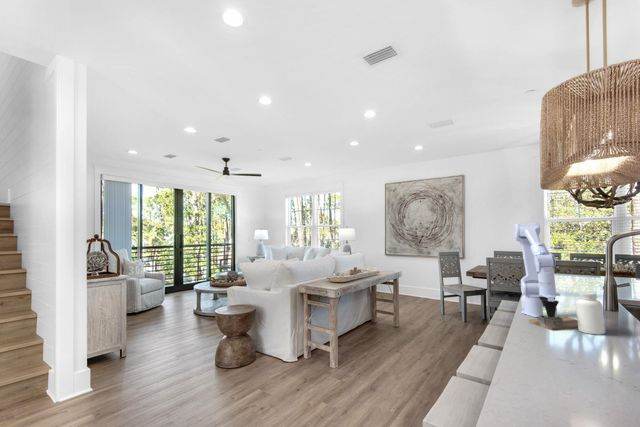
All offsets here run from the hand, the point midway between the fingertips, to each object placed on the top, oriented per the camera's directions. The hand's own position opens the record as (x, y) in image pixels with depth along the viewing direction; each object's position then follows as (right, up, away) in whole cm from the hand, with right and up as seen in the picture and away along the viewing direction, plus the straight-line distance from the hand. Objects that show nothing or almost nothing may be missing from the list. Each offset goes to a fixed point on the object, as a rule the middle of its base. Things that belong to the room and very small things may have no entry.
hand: (550, 315), depth 130 cm
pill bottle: (+9, -4, -9) cm, 14 cm away
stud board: (+5, -4, +1) cm, 7 cm away
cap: (0, -1, 0) cm, 1 cm away
